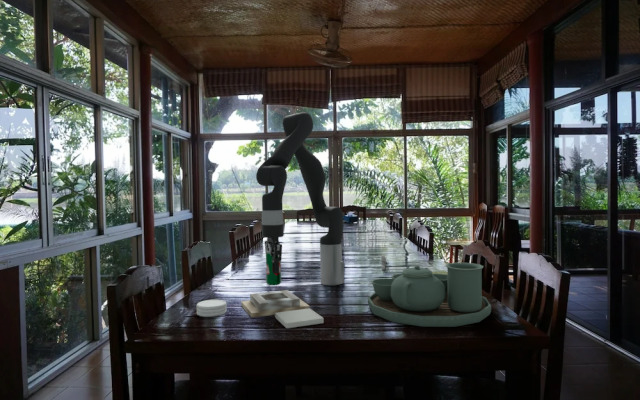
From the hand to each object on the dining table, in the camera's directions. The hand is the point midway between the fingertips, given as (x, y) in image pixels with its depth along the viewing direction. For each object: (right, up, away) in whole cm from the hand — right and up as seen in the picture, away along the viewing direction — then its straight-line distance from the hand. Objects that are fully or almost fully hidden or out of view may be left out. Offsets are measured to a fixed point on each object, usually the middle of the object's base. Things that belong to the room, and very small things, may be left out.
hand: (273, 271), depth 153 cm
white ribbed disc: (-21, -14, -4) cm, 25 cm away
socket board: (0, -13, 0) cm, 13 cm away
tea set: (+52, -12, -4) cm, 54 cm away
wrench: (+49, -10, +73) cm, 88 cm away
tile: (+9, -13, -14) cm, 22 cm away
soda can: (0, -5, 0) cm, 5 cm away
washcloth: (+66, -11, +40) cm, 77 cm away
